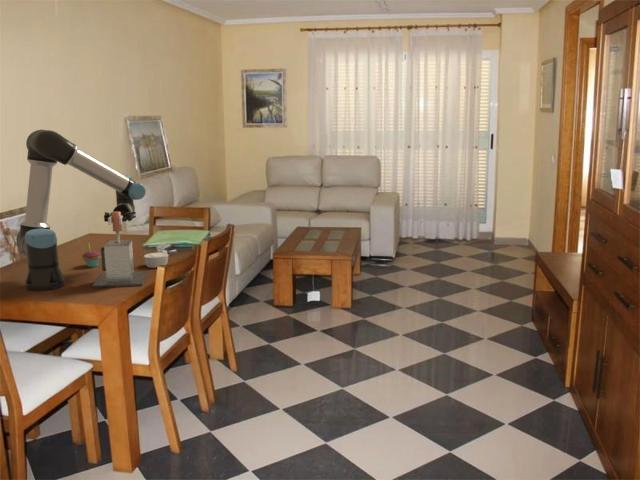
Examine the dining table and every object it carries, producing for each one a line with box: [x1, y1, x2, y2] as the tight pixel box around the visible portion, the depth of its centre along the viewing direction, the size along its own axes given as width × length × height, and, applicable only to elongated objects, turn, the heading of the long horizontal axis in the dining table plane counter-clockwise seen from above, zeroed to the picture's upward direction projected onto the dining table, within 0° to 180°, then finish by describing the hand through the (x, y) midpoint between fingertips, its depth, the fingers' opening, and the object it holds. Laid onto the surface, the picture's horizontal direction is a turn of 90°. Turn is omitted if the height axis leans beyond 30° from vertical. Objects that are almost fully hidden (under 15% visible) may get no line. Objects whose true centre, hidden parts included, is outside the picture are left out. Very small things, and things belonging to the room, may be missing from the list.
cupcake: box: [81, 242, 102, 268], centre depth 288 cm, size 9×8×12 cm
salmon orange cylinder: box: [111, 211, 123, 243], centre depth 260 cm, size 4×4×24 cm
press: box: [91, 239, 148, 289], centre depth 261 cm, size 20×20×17 cm
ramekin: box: [143, 252, 169, 269], centre depth 289 cm, size 11×11×5 cm
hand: (114, 221), depth 252 cm, fingers closed on salmon orange cylinder, 4 cm apart
